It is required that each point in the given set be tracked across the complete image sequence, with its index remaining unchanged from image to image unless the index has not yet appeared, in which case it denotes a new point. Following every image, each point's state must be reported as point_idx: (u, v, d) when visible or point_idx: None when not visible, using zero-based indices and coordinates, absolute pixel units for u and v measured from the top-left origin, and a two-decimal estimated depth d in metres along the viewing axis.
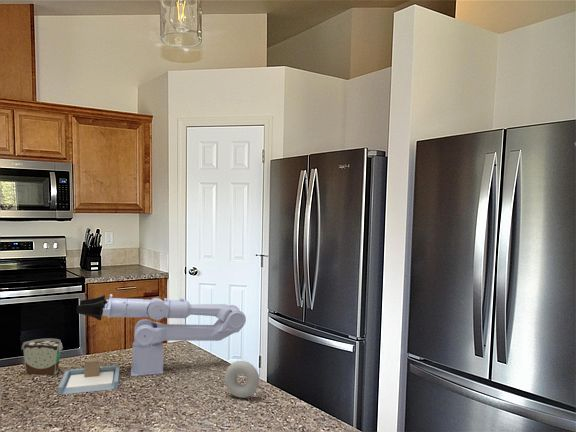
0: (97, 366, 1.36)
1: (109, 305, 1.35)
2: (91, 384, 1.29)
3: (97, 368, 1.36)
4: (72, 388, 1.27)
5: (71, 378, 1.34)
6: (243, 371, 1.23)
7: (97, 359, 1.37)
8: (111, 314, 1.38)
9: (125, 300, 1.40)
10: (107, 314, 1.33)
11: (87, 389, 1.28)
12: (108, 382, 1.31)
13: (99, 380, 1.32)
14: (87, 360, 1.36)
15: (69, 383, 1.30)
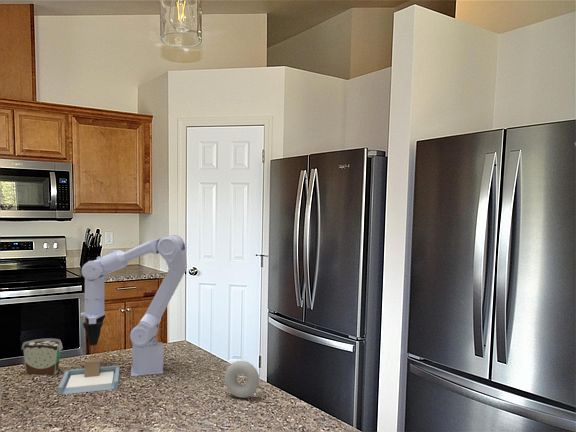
0: (97, 366, 1.36)
1: (87, 317, 1.38)
2: (91, 384, 1.29)
3: (97, 368, 1.36)
4: (72, 388, 1.27)
5: (71, 378, 1.34)
6: (243, 371, 1.23)
7: (97, 359, 1.37)
8: (99, 312, 1.41)
9: (85, 301, 1.41)
10: (94, 319, 1.36)
11: (87, 389, 1.28)
12: (108, 382, 1.31)
13: (99, 380, 1.32)
14: (87, 360, 1.36)
15: (69, 383, 1.30)
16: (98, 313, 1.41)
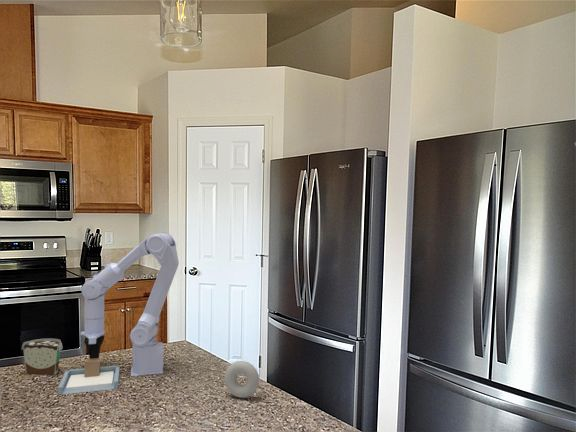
0: (97, 366, 1.36)
1: (87, 337, 1.38)
2: (91, 384, 1.29)
3: (97, 368, 1.36)
4: (72, 388, 1.27)
5: (71, 378, 1.34)
6: (243, 371, 1.23)
7: (97, 359, 1.37)
8: (99, 331, 1.41)
9: (85, 320, 1.41)
10: (94, 339, 1.36)
11: (87, 389, 1.28)
12: (108, 382, 1.31)
13: (99, 380, 1.32)
14: (87, 360, 1.36)
15: (69, 383, 1.30)
16: (98, 332, 1.41)
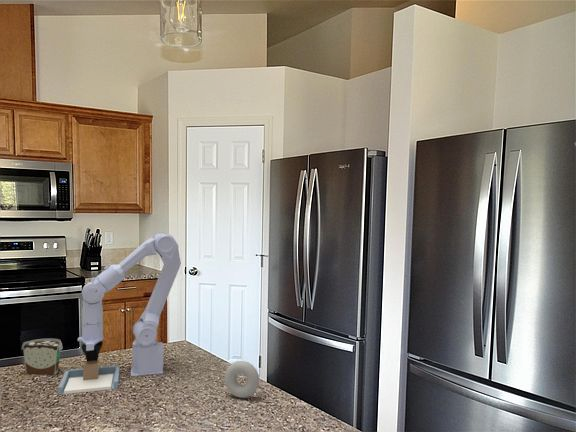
0: (96, 369, 1.33)
1: (85, 343, 1.32)
2: (90, 387, 1.27)
3: (96, 371, 1.33)
4: (70, 391, 1.25)
5: (69, 381, 1.31)
6: (243, 371, 1.23)
7: (96, 362, 1.35)
8: (97, 337, 1.35)
9: (82, 325, 1.35)
10: (92, 345, 1.30)
11: None
12: (107, 385, 1.28)
13: (98, 383, 1.30)
14: (85, 363, 1.34)
15: (67, 386, 1.27)
16: (96, 338, 1.35)
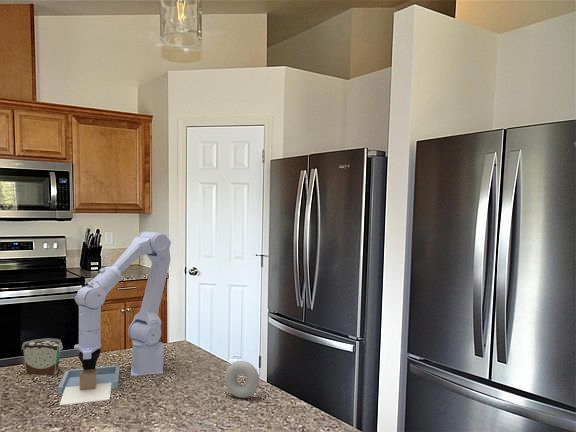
0: (93, 379, 1.26)
1: (81, 351, 1.24)
2: (87, 400, 1.20)
3: (93, 381, 1.26)
4: None
5: (65, 391, 1.24)
6: (243, 371, 1.23)
7: (93, 371, 1.27)
8: (95, 345, 1.28)
9: (79, 332, 1.27)
10: (89, 354, 1.23)
11: None
12: (105, 398, 1.21)
13: (95, 395, 1.23)
14: (82, 372, 1.26)
15: (63, 398, 1.20)
16: (94, 346, 1.27)
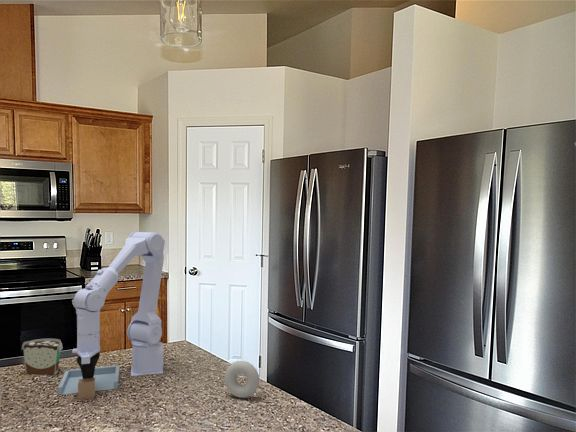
0: (92, 387, 1.22)
1: (80, 355, 1.21)
2: None
3: (92, 389, 1.22)
4: None
5: None
6: (243, 371, 1.23)
7: (92, 379, 1.24)
8: (94, 349, 1.24)
9: (78, 336, 1.24)
10: (88, 358, 1.19)
11: None
12: None
13: None
14: (81, 381, 1.23)
15: None
16: (92, 350, 1.24)
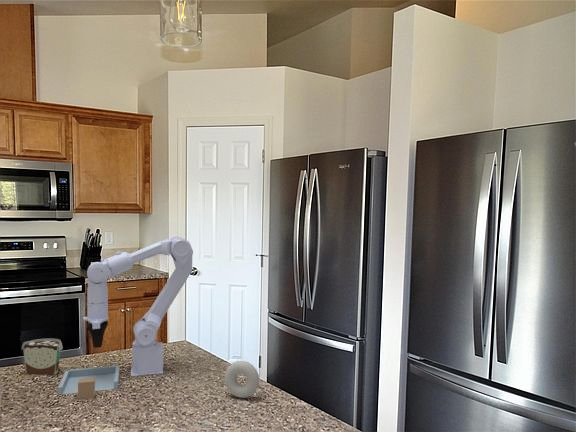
0: (92, 387, 1.22)
1: (91, 321, 1.33)
2: None
3: (92, 389, 1.22)
4: None
5: None
6: (243, 371, 1.23)
7: (92, 379, 1.24)
8: (103, 316, 1.36)
9: (88, 305, 1.36)
10: (98, 324, 1.31)
11: None
12: None
13: None
14: (81, 381, 1.23)
15: None
16: (102, 317, 1.36)
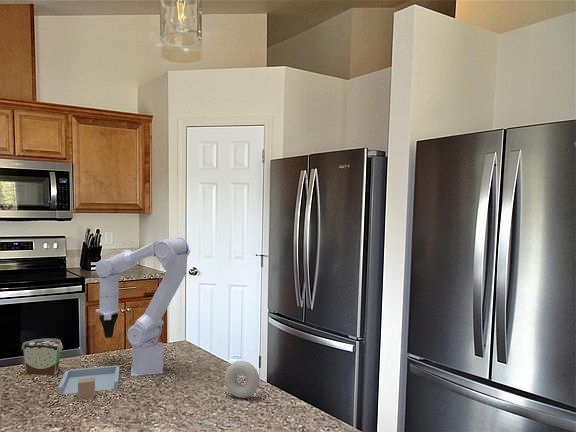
0: (92, 387, 1.22)
1: (102, 313, 1.43)
2: None
3: (92, 389, 1.22)
4: None
5: None
6: (243, 371, 1.23)
7: (92, 379, 1.24)
8: (114, 309, 1.46)
9: (100, 298, 1.46)
10: (109, 315, 1.41)
11: None
12: None
13: None
14: (81, 381, 1.23)
15: None
16: (112, 310, 1.46)
